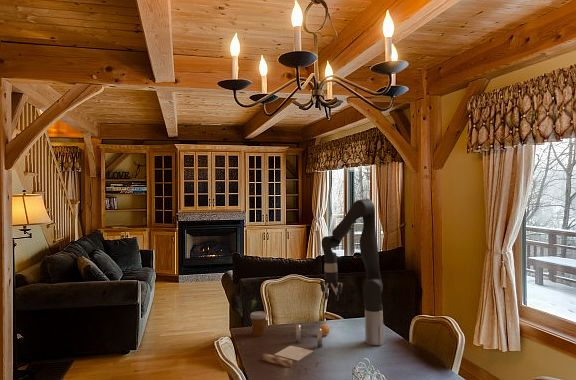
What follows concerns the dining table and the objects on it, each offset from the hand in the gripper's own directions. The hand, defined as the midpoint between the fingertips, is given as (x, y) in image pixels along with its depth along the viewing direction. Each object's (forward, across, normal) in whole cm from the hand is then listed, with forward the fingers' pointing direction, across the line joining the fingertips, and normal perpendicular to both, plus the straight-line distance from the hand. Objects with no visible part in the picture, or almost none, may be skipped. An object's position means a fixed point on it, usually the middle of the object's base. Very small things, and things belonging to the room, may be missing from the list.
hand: (331, 299), depth 235 cm
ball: (+15, 0, -10) cm, 17 cm away
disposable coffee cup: (+18, -32, -27) cm, 46 cm away
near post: (+18, +6, -26) cm, 32 cm away
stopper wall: (+18, 0, -54) cm, 56 cm away
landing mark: (+18, 0, -40) cm, 43 cm away
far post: (+18, -7, -26) cm, 32 cm away
